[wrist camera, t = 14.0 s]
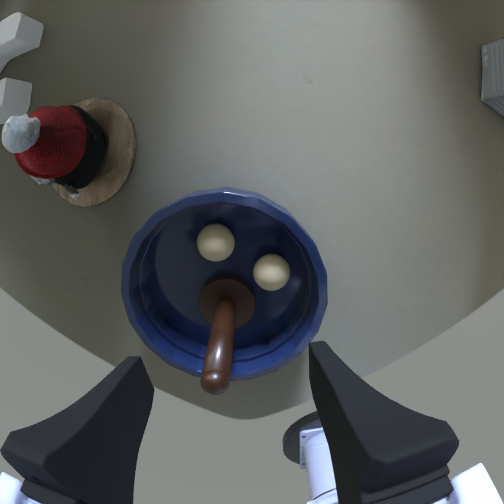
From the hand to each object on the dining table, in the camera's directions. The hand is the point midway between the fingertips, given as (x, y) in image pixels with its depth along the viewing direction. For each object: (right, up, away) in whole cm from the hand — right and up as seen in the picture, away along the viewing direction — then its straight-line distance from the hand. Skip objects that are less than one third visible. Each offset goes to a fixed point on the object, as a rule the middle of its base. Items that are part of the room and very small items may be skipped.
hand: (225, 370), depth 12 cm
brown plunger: (-1, +1, +10) cm, 10 cm away
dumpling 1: (-1, +6, +7) cm, 9 cm away
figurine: (-11, +12, +7) cm, 18 cm away
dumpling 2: (+2, +4, +8) cm, 9 cm away
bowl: (-1, +3, +10) cm, 10 cm away
